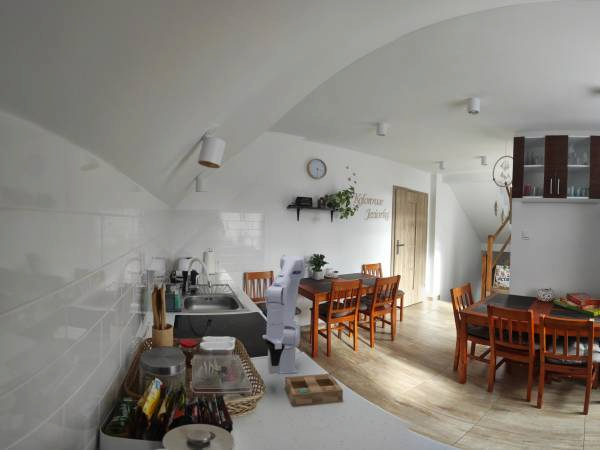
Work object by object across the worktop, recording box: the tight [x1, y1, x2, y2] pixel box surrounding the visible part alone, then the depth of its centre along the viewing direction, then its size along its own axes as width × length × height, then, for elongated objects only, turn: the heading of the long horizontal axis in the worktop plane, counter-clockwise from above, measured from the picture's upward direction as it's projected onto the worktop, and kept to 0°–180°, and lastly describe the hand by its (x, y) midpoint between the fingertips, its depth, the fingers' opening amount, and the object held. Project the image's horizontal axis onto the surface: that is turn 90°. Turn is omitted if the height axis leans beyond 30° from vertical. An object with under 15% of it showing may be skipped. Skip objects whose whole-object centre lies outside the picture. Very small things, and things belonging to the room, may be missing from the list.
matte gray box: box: [267, 348, 280, 375], centre depth 108 cm, size 4×4×7 cm
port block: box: [284, 373, 344, 407], centre depth 105 cm, size 12×16×4 cm
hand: (274, 362), depth 108 cm, fingers closed on matte gray box, 4 cm apart
